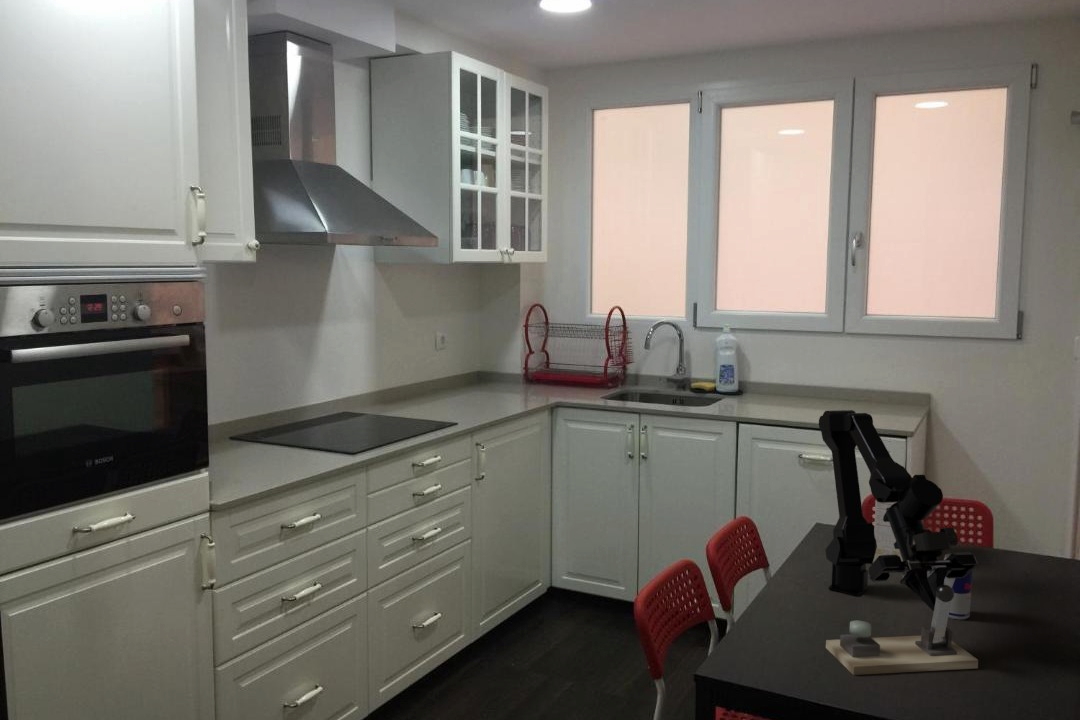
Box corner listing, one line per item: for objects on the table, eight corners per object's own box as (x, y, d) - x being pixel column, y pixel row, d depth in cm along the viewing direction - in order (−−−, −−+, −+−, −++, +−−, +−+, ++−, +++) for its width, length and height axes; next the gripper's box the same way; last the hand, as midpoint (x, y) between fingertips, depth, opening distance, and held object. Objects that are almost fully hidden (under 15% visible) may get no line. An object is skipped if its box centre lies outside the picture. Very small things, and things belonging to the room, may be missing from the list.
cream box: (882, 546, 227) (885, 470, 224) (912, 551, 223) (916, 473, 221) (871, 563, 214) (874, 482, 212) (903, 569, 210) (907, 486, 208)
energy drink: (972, 621, 180) (976, 562, 179) (944, 619, 181) (947, 560, 180) (965, 611, 185) (969, 554, 184) (937, 608, 186) (941, 552, 185)
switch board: (825, 647, 167) (826, 620, 166) (942, 642, 170) (944, 614, 169) (853, 674, 156) (854, 645, 156) (977, 668, 159) (979, 639, 158)
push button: (845, 629, 164) (846, 620, 163) (864, 628, 164) (865, 620, 164) (855, 637, 160) (855, 628, 160) (874, 636, 161) (874, 628, 160)
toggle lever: (923, 639, 165) (933, 581, 161) (938, 638, 165) (949, 581, 161) (931, 649, 162) (942, 590, 158) (947, 648, 162) (958, 590, 159)
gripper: (879, 512, 164) (907, 594, 155) (975, 510, 167) (1009, 589, 157) (857, 541, 173) (882, 619, 163) (948, 538, 175) (979, 615, 166)
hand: (938, 610), depth 162 cm, fingers closed, pressing on toggle lever
